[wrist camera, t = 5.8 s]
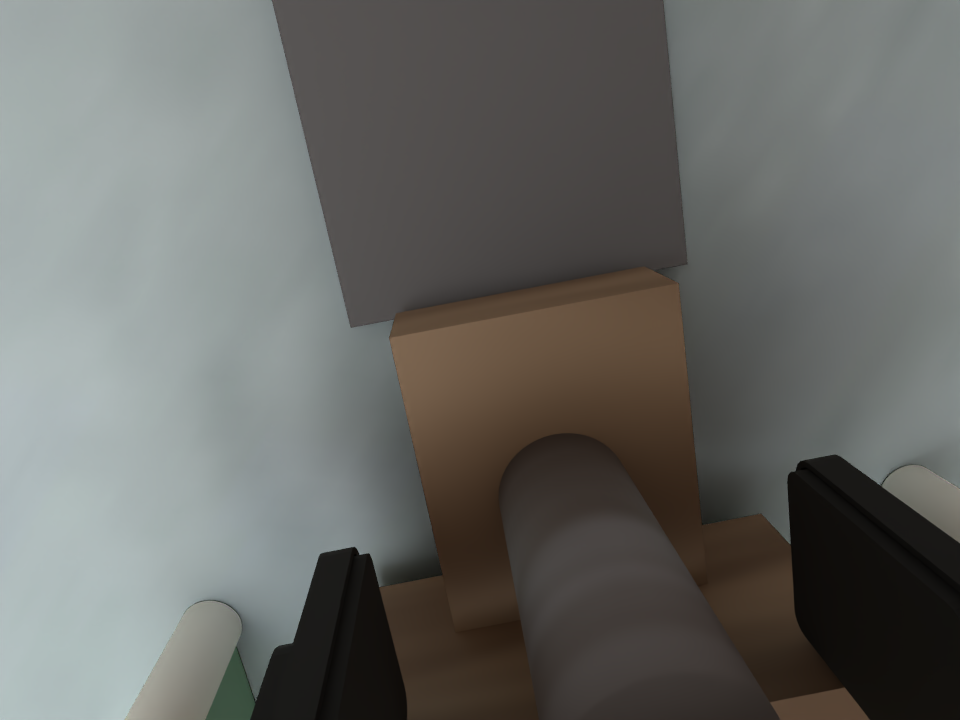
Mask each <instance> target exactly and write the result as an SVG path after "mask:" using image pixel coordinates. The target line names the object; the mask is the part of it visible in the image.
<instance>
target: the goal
mask: <svg viewBox="0 0 960 720" xmlns="http://www.w3.org/2000/svg"><path fill="white" fill-rule="evenodd" d="M882 487H883V488H884V489H886V490H887V491H888V492H890V493H891V494H893V495H894V496H895V497H897V498H898V499H899V500H901V501H902V502H904V503H905V504H906V505H908V506H909V507H911V508H912V509H913V510H915V511H916V512H917V513H919V514H920V515H922V516H923V517H924V518H926V519H927V520H928V521H930V522H931V523H933V524H934V525H935V526H937V527H938V528H940V529H941V530H942V531H944V532H945V533H946V534H948V535H949V536H951V537H952V538H953V539H955V540H956V541H958V542H959V543H960V489H959V488H958V487H956V486H955V485H953V484H951V483H950V482H948V481H946V480H945V479H943V478H942V477H940V476H938V475H937V474H935V473H934V472H932V471H930V470H929V469H927V468H925V467H923V466H920V465H908V466H904V467H901V468H899V469H897V470H896V471H894V472H893V473H892V474H890V475H889V476H888V477H887V479H886V480H885V481H884V483H883V485H882ZM241 632H242V623H241V620H240V618H239V616H238V614H237V613H236V612H235V611H234V610H233V609H232V608H231V607H229V606H228V605H226V604H224V603H221V602H217V601H202V602H199V603H196V604H194V605H192V606H191V607H189V608H188V609H187V610H186V612H185V613H184V615H183V616H182V618H181V620H180V622H179V624H178V625H177V627H176V629H175V631H174V632H173V634H172V636H171V638H170V640H169V641H168V643H167V645H166V647H165V649H164V650H163V652H162V654H161V656H160V657H159V659H158V661H157V663H156V665H155V666H154V668H153V670H152V672H151V673H150V675H149V677H148V679H147V681H146V682H145V684H144V686H143V688H142V689H141V691H140V693H139V695H138V697H137V698H136V700H135V702H134V704H133V706H132V707H131V709H130V711H129V713H128V714H127V716H126V718H125V720H250V718H251V715H252V712H253V709H254V706H255V701H254V698H253V695H252V692H251V689H250V686H249V683H248V680H247V677H246V674H245V671H244V668H243V665H242V662H241V659H240V656H239V654H238V651H237V648H236V645H237V642H238V640H239V638H240V635H241Z"/></svg>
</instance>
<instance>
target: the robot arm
mask: <svg viewBox="0 0 960 720" xmlns="http://www.w3.org/2000/svg"><path fill="white" fill-rule="evenodd" d="M787 484H788V502H789V520H790V538H791V556H792V574H793V592H794V610H795V616H796V619H797V622H798V625H799V627H800V629H801V631H802V633H803V634H804V636H805V637H806V638H807V640H808V641H809V642H810V644H811V645H812V646H813V647H814V649H815V650H816V651H817V653H818V654H819V655H820V656H821V658H822V659H823V660H824V662H825V663H826V664H827V665H828V667H829V668H830V669H831V670H832V672H833V673H834V674H835V676H836V677H837V678H838V679H839V681H840V682H841V683H842V685H843V686H844V687H845V688H846V690H847V691H848V692H849V694H850V695H851V696H852V697H853V699H854V700H855V701H856V702H857V704H858V705H859V706H860V708H861V709H862V710H863V711H864V713H865V714H866V715H867V717H868V718H869V719H870V720H960V543H959V542H958V541H956V540H955V539H953V538H952V537H951V536H949V535H948V534H946V533H945V532H944V531H942V530H941V529H940V528H938V527H937V526H935V525H934V524H933V523H931V522H930V521H928V520H927V519H926V518H924V517H923V516H922V515H920V514H919V513H917V512H916V511H915V510H913V509H912V508H911V507H909V506H908V505H906V504H905V503H904V502H902V501H901V500H899V499H898V498H897V497H895V496H894V495H893V494H891V493H890V492H888V491H887V490H886V489H884V488H883V487H881V486H880V485H879V484H877V483H876V482H875V481H873V480H872V479H870V478H869V477H868V476H866V475H865V474H864V473H862V472H861V471H859V470H858V469H857V468H855V467H854V466H852V465H851V464H850V463H848V462H847V461H846V460H844V459H843V458H841V457H840V456H838V455H830V456H825V457H819V458H814V459H809V460H804V461H800V462H799V463H798V464H797V468H796V471H794V472H790V473H789V475H788V481H787ZM250 720H407V698H406V691H405V686H404V682H403V678H402V674H401V670H400V666H399V662H398V659H397V655H396V651H395V647H394V643H393V639H392V635H391V631H390V627H389V624H388V620H387V616H386V612H385V608H384V604H383V600H382V596H381V592H380V589H379V585H378V581H377V577H376V573H375V569H374V565H373V561H372V558H371V556H370V554H369V553H368V554H363V555H359V553H358V550H357V549H356V548H355V547H351V548H346V549H341V550H336V551H331V552H325V553H321V554H320V556H319V558H318V562H317V565H316V568H315V572H314V575H313V578H312V582H311V585H310V589H309V592H308V595H307V599H306V602H305V605H304V609H303V612H302V615H301V619H300V622H299V625H298V629H297V632H296V635H295V639H294V642H293V643H292V644H286V645H281V646H278V647H277V648H276V649H275V650H274V652H273V654H272V656H271V659H270V662H269V665H268V668H267V671H266V674H265V677H264V680H263V682H262V685H261V688H260V691H259V694H258V697H257V700H256V703H255V706H254V709H253V712H252V715H251V718H250Z"/></svg>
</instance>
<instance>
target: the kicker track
mask: <svg viewBox="0 0 960 720" xmlns="http://www.w3.org/2000/svg"><path fill="white" fill-rule="evenodd" d="M272 2H273V6H274V10H275V15H276V19H277V23H278V27H279V31H280V35H281V39H282V44H283V48H284V52H285V56H286V60H287V64H288V69H289V73H290V77H291V81H292V85H293V89H294V94H295V98H296V102H297V106H298V110H299V114H300V119H301V123H302V127H303V131H304V135H305V139H306V143H307V148H308V152H309V156H310V160H311V164H312V168H313V173H314V177H315V181H316V185H317V189H318V193H319V198H320V202H321V206H322V210H323V214H324V218H325V222H326V227H327V231H328V235H329V239H330V243H331V247H332V252H333V256H334V260H335V264H336V268H337V272H338V277H339V281H340V285H341V289H342V293H343V297H344V301H345V306H346V310H347V314H348V318H349V322H350V326H351V328H352V327H357V326H362V325H368V324H373V323H378V322H383V321H389V320H394V319H395V315H396V313H400V312H405V311H411V310H416V309H421V308H427V307H432V306H437V305H442V304H448V303H453V302H458V301H464V300H469V299H474V298H479V297H485V296H490V295H495V294H501V293H506V292H511V291H516V290H522V289H527V288H532V287H538V286H543V285H548V284H553V283H559V282H564V281H569V280H575V279H580V278H585V277H590V276H596V275H601V274H606V273H612V272H617V271H622V270H627V269H633V268H638V267H643V266H645V267H647V268H649V269H651V270H658V269H663V268H669V267H674V266H679V265H685V264H687V254H686V243H685V232H684V221H683V210H682V199H681V189H680V178H679V167H678V156H677V145H676V134H675V124H674V113H673V102H672V91H671V80H670V69H669V58H668V48H667V37H666V26H665V15H664V4H663V0H272Z"/></svg>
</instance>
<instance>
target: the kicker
mask: <svg viewBox="0 0 960 720" xmlns="http://www.w3.org/2000/svg"><path fill="white" fill-rule="evenodd" d="M389 339H390V344H391V348H392V353H393V357H394V362H395V366H396V371H397V375H398V379H399V384H400V388H401V393H402V397H403V402H404V406H405V411H406V415H407V419H408V424H409V428H410V433H411V437H412V442H413V446H414V451H415V455H416V459H417V464H418V468H419V473H420V477H421V482H422V486H423V491H424V495H425V500H426V504H427V508H428V513H429V517H430V522H431V526H432V531H433V535H434V540H435V544H436V548H437V553H438V557H439V562H440V566H441V571H442V575H441V576H436V577H430V578H425V579H420V580H415V581H410V582H405V583H399V584H394V585H389V586H384V587H379V589H380V592H381V596H382V600H383V604H384V608H385V612H386V616H387V620H388V624H389V627H390V631H391V635H392V639H393V643H394V647H395V651H396V655H397V659H398V662H399V666H400V670H401V674H402V678H403V682H404V686H405V691H406V698H407V720H870V719H869V718H868V717H867V715H866V714H865V713H864V711H863V710H862V709H861V708H860V706H859V705H858V704H857V702H856V701H855V700H854V699H853V697H852V696H851V695H850V694H849V692H848V691H847V690H846V688H845V687H844V686H843V685H842V683H841V682H840V681H839V679H838V678H837V677H836V676H835V674H834V673H833V672H832V670H831V669H830V668H829V667H828V665H827V664H826V663H825V662H824V660H823V659H822V658H821V656H820V655H819V654H818V653H817V651H816V650H815V649H814V647H813V646H812V645H811V644H810V642H809V641H808V640H807V638H806V637H805V636H804V634H803V633H802V631H801V629H800V627H799V625H798V622H797V619H796V616H795V610H794V592H793V574H792V556H791V545H790V544H789V543H788V542H787V541H786V540H785V539H784V538H783V537H782V535H781V534H780V533H779V532H778V531H777V530H776V529H775V528H774V527H773V526H772V525H771V524H770V523H769V522H768V520H767V519H766V518H765V517H764V516H763V515H762V514H757V515H752V516H747V517H741V518H736V519H731V520H726V521H721V522H715V523H710V524H705V525H702V519H701V509H700V499H699V488H698V478H697V467H696V457H695V447H694V436H693V426H692V416H691V405H690V395H689V385H688V374H687V364H686V354H685V343H684V333H683V323H682V312H681V302H680V292H679V283H677V282H675V281H673V280H671V279H669V278H667V277H665V276H663V275H661V274H659V273H657V272H655V271H653V270H651V269H649V268H647V267H645V266H643V267H638V268H633V269H627V270H622V271H617V272H612V273H606V274H601V275H596V276H590V277H585V278H580V279H575V280H569V281H564V282H559V283H553V284H548V285H543V286H538V287H532V288H527V289H522V290H516V291H511V292H506V293H501V294H495V295H490V296H485V297H479V298H474V299H469V300H464V301H458V302H453V303H448V304H442V305H437V306H432V307H427V308H421V309H416V310H411V311H405V312H400V313H396V315H395V319H394V322H393V326H392V330H391V333H390V337H389Z"/></svg>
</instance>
